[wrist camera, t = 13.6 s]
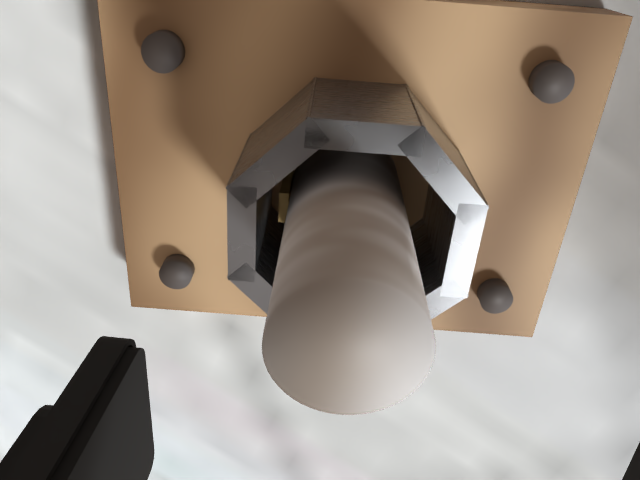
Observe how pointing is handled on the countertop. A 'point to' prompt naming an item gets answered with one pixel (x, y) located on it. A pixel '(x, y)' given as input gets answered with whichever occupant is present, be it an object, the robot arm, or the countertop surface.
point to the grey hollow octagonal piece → (367, 137)
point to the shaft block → (352, 168)
